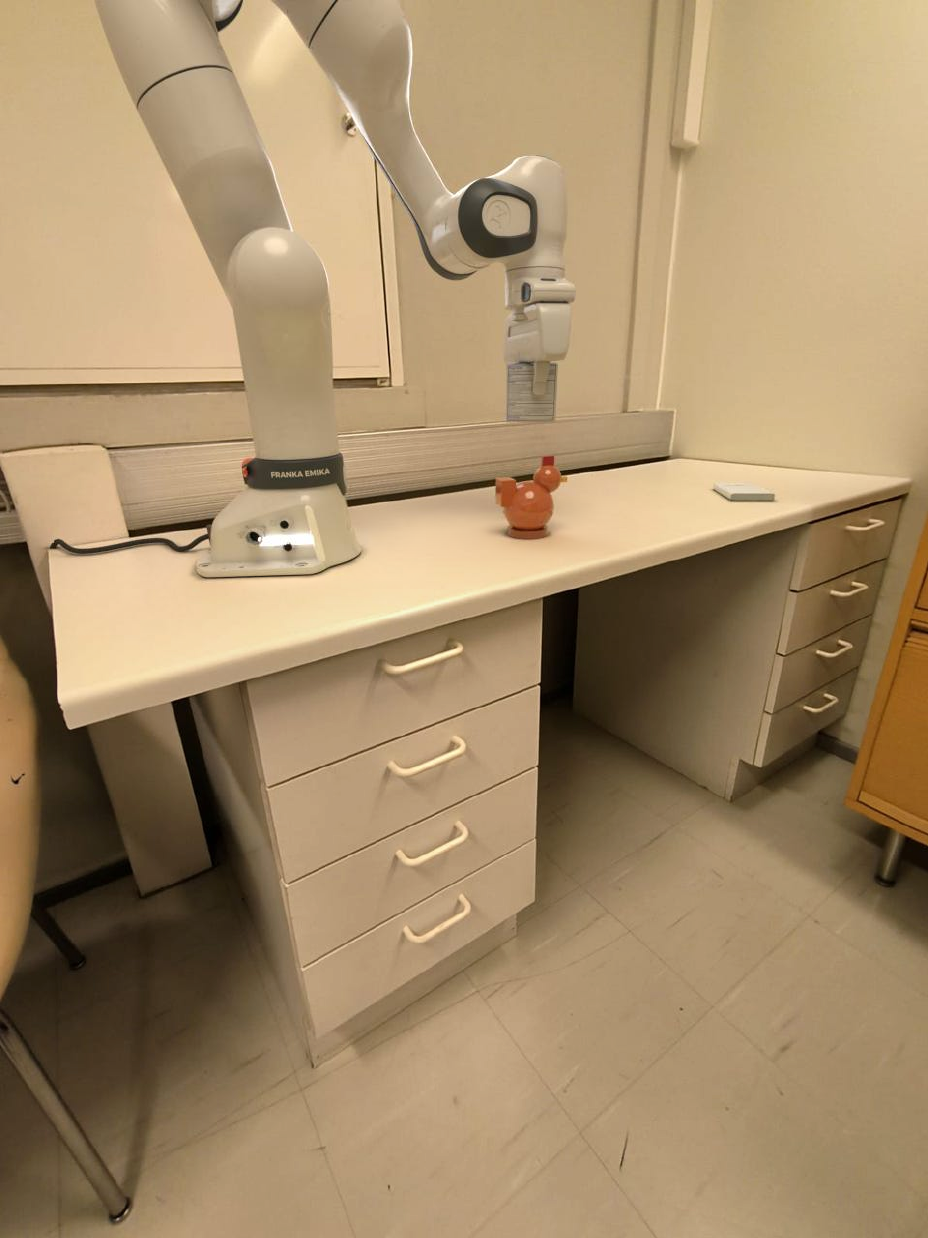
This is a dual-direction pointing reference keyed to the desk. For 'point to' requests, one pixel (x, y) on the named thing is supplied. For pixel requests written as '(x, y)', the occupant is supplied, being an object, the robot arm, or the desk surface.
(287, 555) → the robot arm
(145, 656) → the desk surface
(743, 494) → the hard drive
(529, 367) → the medicine box
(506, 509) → the ceramic hen
